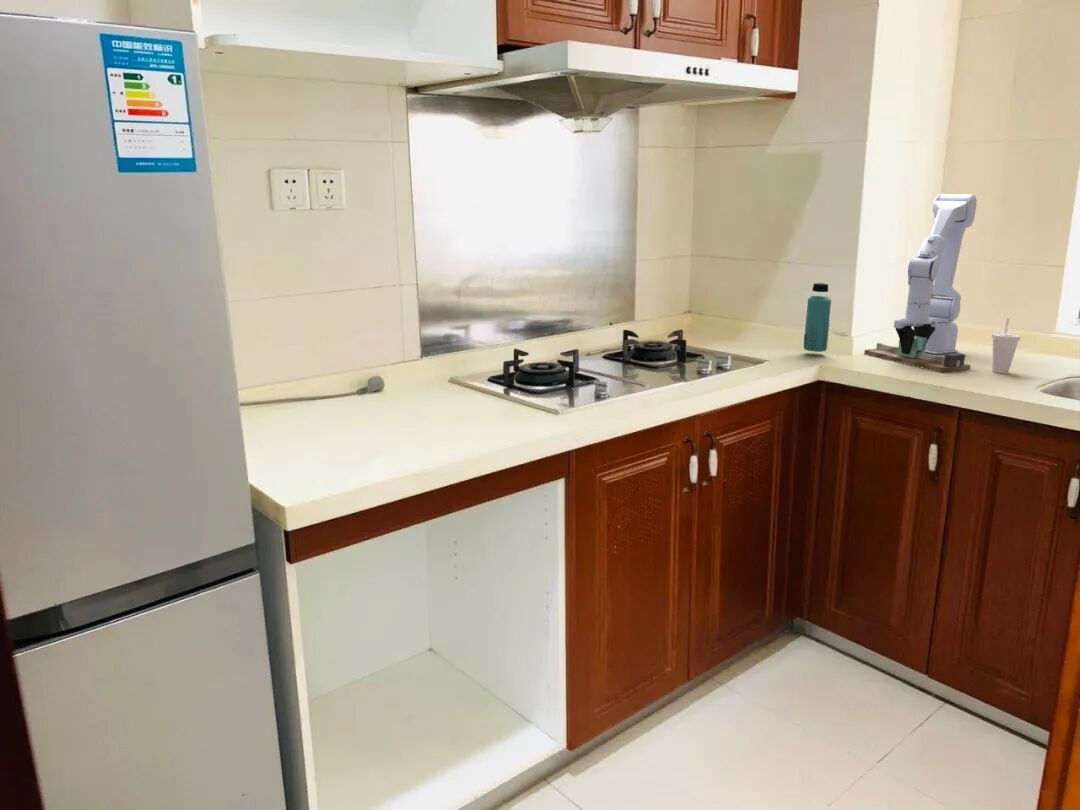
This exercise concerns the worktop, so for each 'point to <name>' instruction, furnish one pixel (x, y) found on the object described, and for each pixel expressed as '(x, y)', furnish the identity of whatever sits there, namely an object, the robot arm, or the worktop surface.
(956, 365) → the track
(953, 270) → the robot arm
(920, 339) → the block
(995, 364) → the smoothie
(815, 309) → the beverage bottle
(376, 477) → the worktop surface
